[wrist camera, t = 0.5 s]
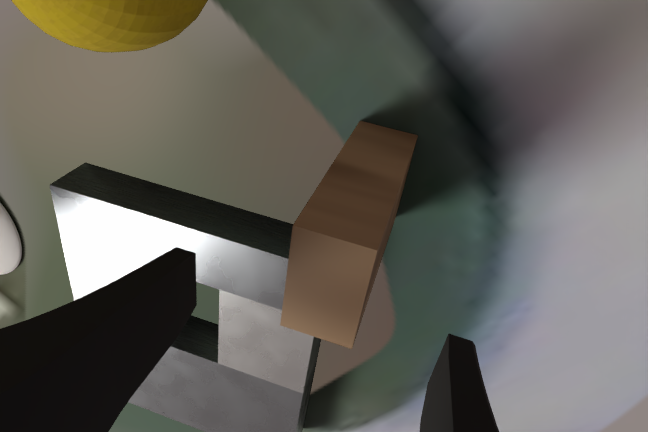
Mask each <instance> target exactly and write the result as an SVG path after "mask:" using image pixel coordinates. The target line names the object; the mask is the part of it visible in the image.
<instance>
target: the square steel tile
mask: <svg viewBox="0 0 648 432" xmlns="http://www.w3.org/2000/svg"><path fill="white" fill-rule="evenodd" d="M50 189H51V194H52V198H53V203H54V208H55V212H56V217H57V222H58V227H59V231H60V236H61V241H62V245H63V250H64V255H65V259H66V264H67V269H68V273H69V278H70V283H71V287H72V292H73V297H74V301H75V300H77V299H79V298H81V297H83V296H85V295H87V294H89V293H91V292H93V291H95V290H97V289H99V288H102V287H104V286H106V285H108V284H109V283H111V282H113V281H115V280H117V279H119V278H121V277H123V276H124V275H126V274H128V273H130V272H132V271H134V270H135V269H137V268H139V267H141V266H143V265H144V264H146V263H148V262H150V261H152V260H153V259H155V258H157V257H159V256H161V255H162V254H164V253H166V252H168V251H170V250H172V249H174V248H175V247H178V248H181V249H184V250H187V251H191V252H194V253H196V282H198V283H201V284H204V285H208V286H210V287H213V288H216V289H219V290H220V292H219V295H220V296H219V325H217V324H214V323H212V322H208V321H206V320H203V319H200V318H197V317H194V316H191V315H190V317H189V319H188V321H187V322H186V324H185V326H184V327H183V329H182V331H181V332H180V334H179V336H178V337H177V338H176V340H175V341H174V342H173V344H172V345H171V346H170V348H169V349H168V350H167V352H166V353H165V354H164V356H163V357H162V358H161V359H160V361H159V362H158V363H157V365H156V366H155V367H154V368H153V370H152V371H151V372H150V374H149V375H148V376H147V378H146V379H145V380H144V381H143V383H142V384H141V385H140V387H139V388H138V389H137V390H136V392H135V393H134V394H133V396H132V397H131V398H130V400H129V401H128V402H129V403H132V404H135V405H137V406H140V407H142V408H145V409H147V410H150V411H153V412H155V413H158V414H161V415H163V416H166V417H168V418H171V419H173V420H176V421H179V422H182V423H184V424H187V425H189V426H192V427H195V428H197V429H200V430H202V431H205V432H302V430H303V426H304V421H305V416H306V411H307V407H308V402H309V397H310V392H311V386H312V382H313V376H314V372H315V367H316V362H317V357H318V352H319V347H320V342H321V339H320V338H317V337H314V336H311V335H308V334H305V333H302V332H299V331H296V330H293V329H290V328H287V327H284V326H281V325H280V322H281V314H282V307H283V299H284V291H285V283H286V275H287V267H288V259H289V251H290V243H291V235H292V228H293V224H290V223H287V222H283V221H280V220H277V219H273V218H270V217H267V216H263V215H260V214H256V213H253V212H250V211H246V210H243V209H240V208H236V207H233V206H230V205H226V204H223V203H219V202H216V201H213V200H209V199H206V198H202V197H199V196H196V195H193V194H189V193H186V192H182V191H179V190H176V189H172V188H169V187H166V186H162V185H159V184H156V183H152V182H149V181H145V180H142V179H139V178H135V177H132V176H129V175H125V174H122V173H119V172H115V171H112V170H108V169H105V168H101V167H98V166H95V165H91V164H88V163H84V164H82V165H81V166H79V167H77V168H76V169H74V170H73V171H71V172H69V173H68V174H66V175H65V176H63V177H61V178H60V179H58V180H57V181H55V182H53V183H52V184H50Z"/></svg>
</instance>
